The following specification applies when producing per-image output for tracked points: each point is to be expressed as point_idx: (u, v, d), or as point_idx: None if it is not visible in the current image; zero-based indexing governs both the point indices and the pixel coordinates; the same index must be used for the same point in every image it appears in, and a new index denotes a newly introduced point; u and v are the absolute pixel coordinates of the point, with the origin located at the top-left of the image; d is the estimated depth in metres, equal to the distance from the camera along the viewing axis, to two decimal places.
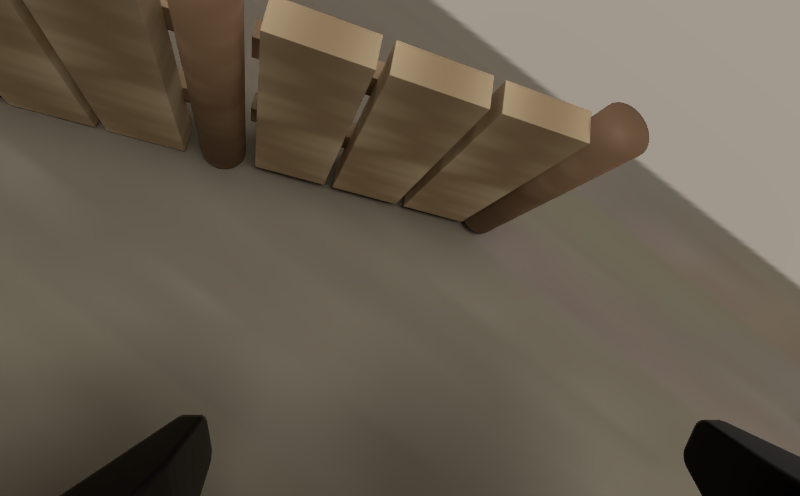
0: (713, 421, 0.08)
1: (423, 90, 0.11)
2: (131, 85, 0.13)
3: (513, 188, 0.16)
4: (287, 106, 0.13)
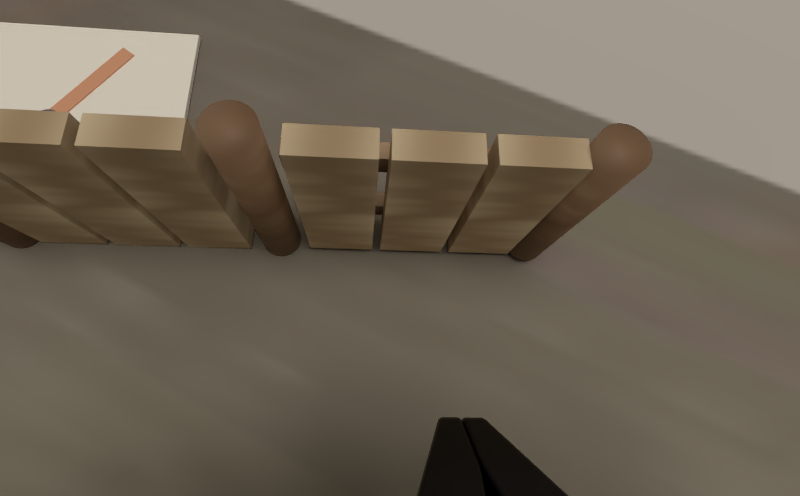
0: (472, 418, 0.08)
1: (424, 164, 0.13)
2: (198, 212, 0.16)
3: (541, 218, 0.17)
4: (319, 200, 0.15)
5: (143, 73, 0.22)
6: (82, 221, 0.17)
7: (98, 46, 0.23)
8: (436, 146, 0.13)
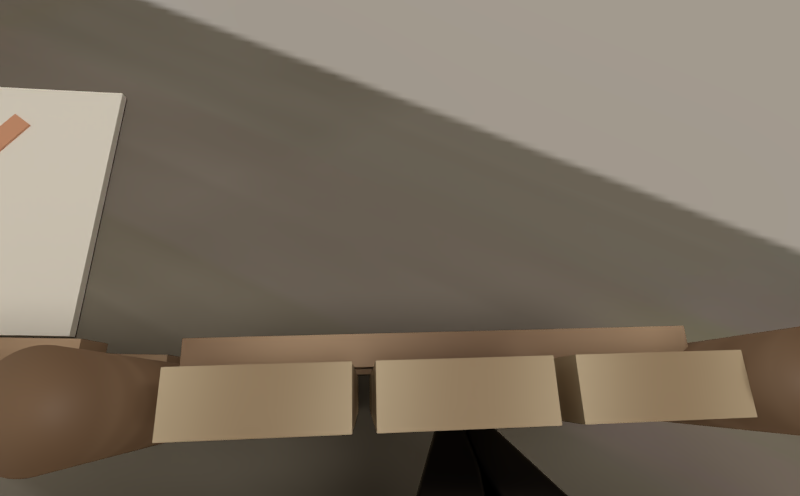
0: None
1: None
2: None
3: None
4: None
5: (41, 151, 0.16)
6: None
7: None
8: (462, 393, 0.07)
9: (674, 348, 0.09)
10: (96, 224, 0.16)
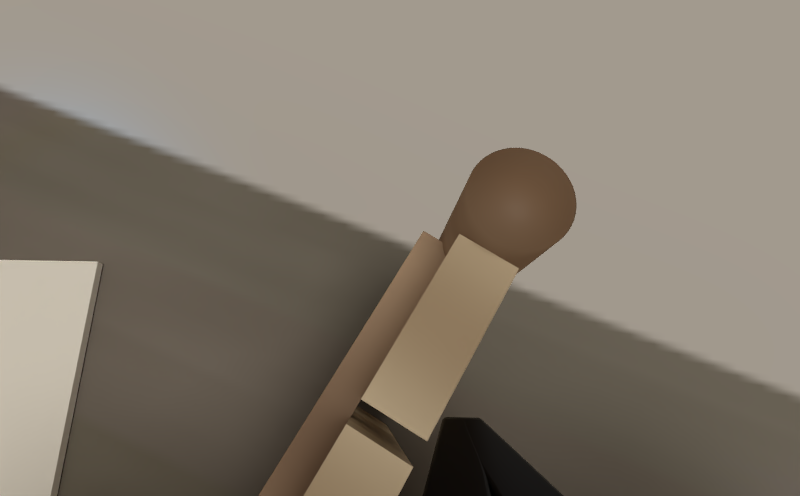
0: (469, 419, 0.08)
1: None
2: None
3: None
4: None
5: (1, 342, 0.14)
6: None
7: None
8: None
9: (436, 255, 0.09)
10: (65, 435, 0.13)
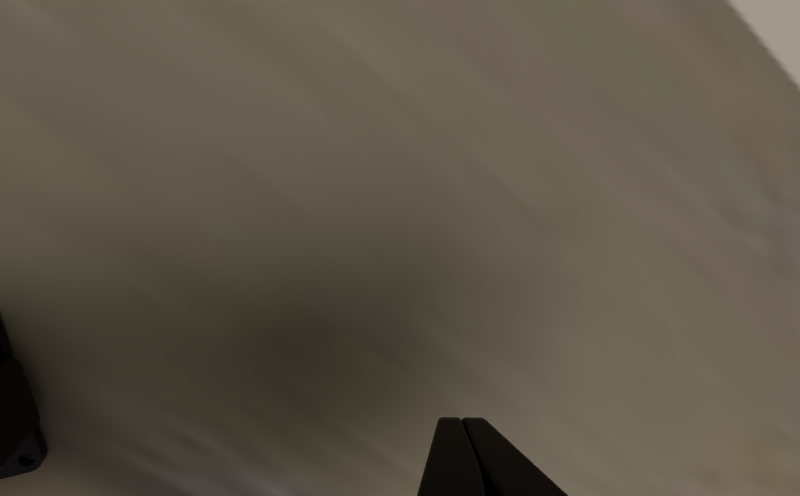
0: (472, 418, 0.08)
1: None
2: None
3: None
4: None
5: None
6: None
7: None
8: None
9: None
10: None
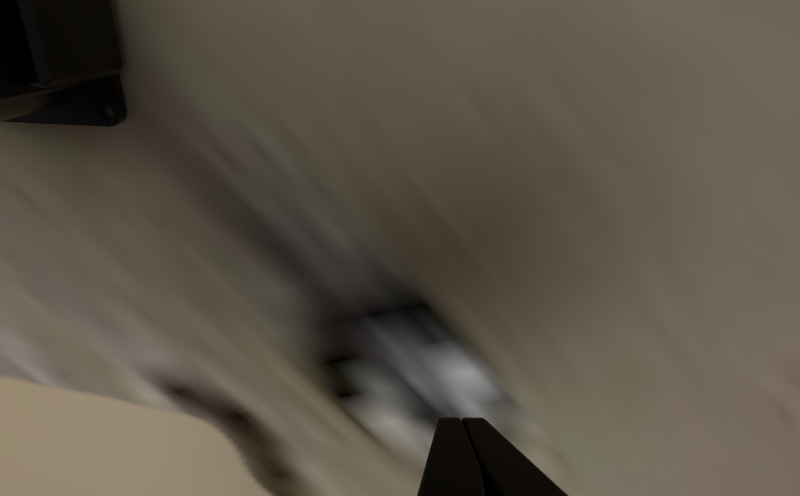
0: (472, 419, 0.08)
1: None
2: None
3: None
4: None
5: None
6: None
7: None
8: None
9: None
10: None
